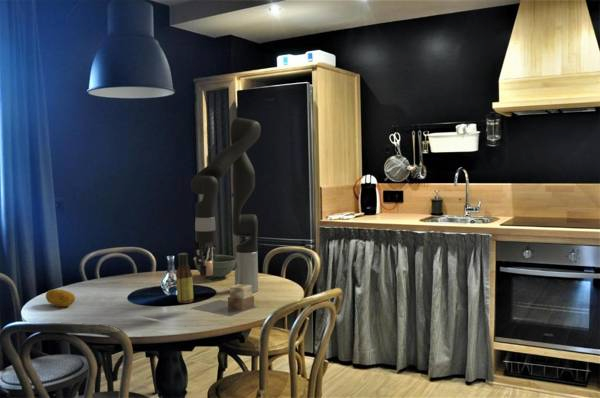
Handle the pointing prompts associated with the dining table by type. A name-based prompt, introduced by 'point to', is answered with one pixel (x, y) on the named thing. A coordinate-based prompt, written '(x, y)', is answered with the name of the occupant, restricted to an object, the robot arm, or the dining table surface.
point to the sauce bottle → (184, 280)
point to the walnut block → (241, 303)
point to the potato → (60, 297)
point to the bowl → (220, 266)
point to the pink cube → (209, 267)
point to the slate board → (219, 308)
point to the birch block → (240, 291)
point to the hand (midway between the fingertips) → (206, 273)
